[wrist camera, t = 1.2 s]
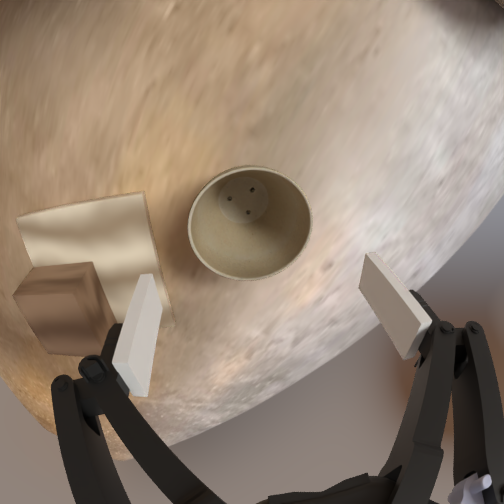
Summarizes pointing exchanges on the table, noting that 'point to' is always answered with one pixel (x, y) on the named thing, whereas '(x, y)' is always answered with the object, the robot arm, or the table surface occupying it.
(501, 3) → the bowl
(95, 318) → the pedestal
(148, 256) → the board
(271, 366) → the table surface
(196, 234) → the flower pot
